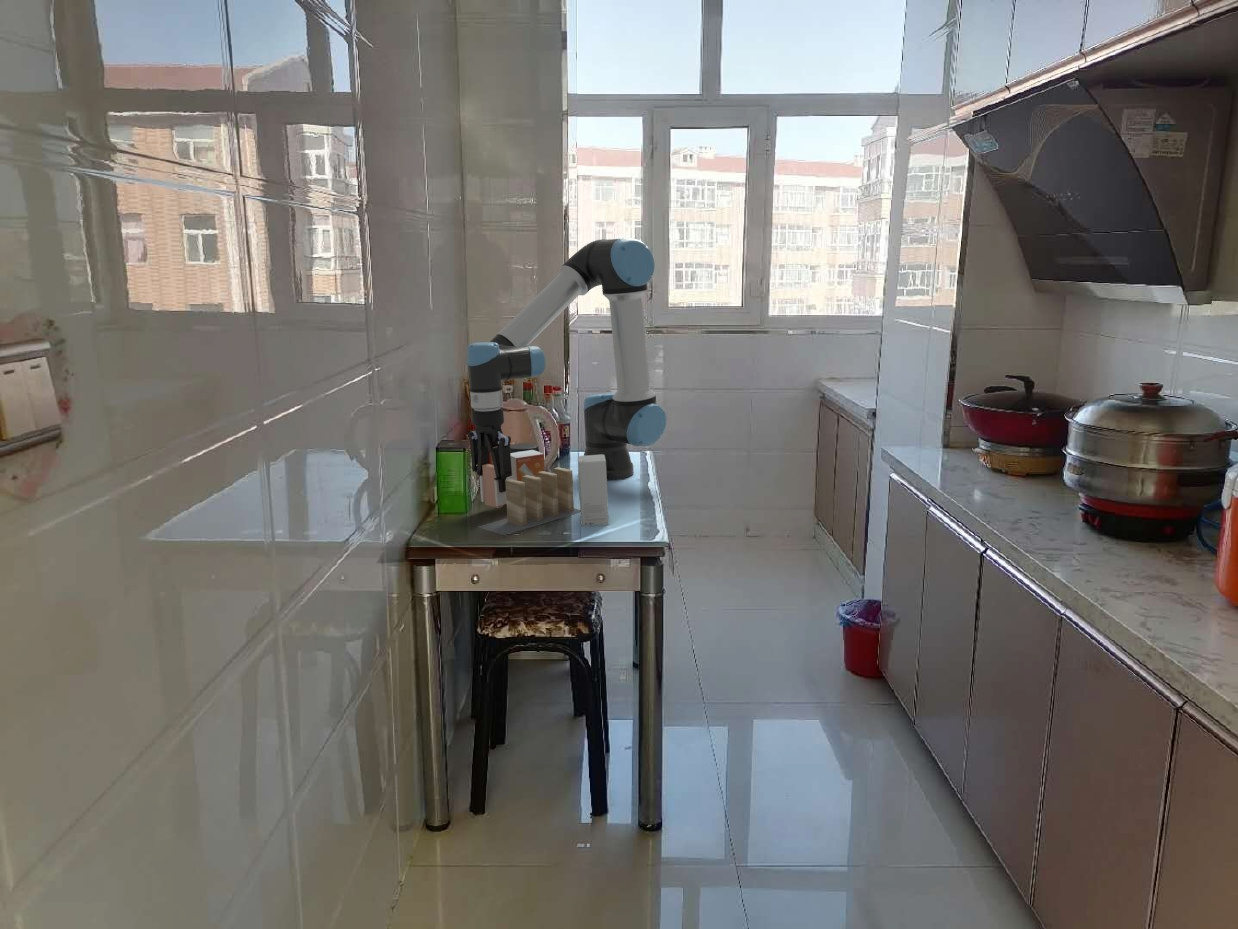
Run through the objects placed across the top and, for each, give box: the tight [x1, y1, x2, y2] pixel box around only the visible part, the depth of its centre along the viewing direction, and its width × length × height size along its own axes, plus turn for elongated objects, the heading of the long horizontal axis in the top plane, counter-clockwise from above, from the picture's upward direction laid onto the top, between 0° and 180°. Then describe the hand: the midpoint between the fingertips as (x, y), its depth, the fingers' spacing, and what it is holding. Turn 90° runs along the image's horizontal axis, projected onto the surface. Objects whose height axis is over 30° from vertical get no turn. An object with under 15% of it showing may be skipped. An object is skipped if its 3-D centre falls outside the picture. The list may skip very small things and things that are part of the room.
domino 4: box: [538, 470, 559, 516], centre depth 222 cm, size 2×5×10 cm, turn 46°
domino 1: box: [482, 463, 504, 509], centre depth 225 cm, size 2×5×10 cm, turn 46°
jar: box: [510, 442, 540, 453], centre depth 247 cm, size 9×8×12 cm
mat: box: [477, 507, 581, 536], centre depth 219 cm, size 25×10×1 cm, turn 136°
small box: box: [506, 450, 546, 482], centre depth 233 cm, size 8×6×13 cm
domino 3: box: [522, 475, 543, 521], centre depth 219 cm, size 2×5×10 cm, turn 46°
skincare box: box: [577, 455, 610, 527], centre depth 215 cm, size 8×7×16 cm
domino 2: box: [505, 479, 527, 526], centre depth 215 cm, size 2×5×10 cm, turn 46°
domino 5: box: [552, 466, 575, 512], centre depth 226 cm, size 2×5×10 cm, turn 46°
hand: (493, 502), depth 226 cm, fingers closed on domino 1, 5 cm apart
